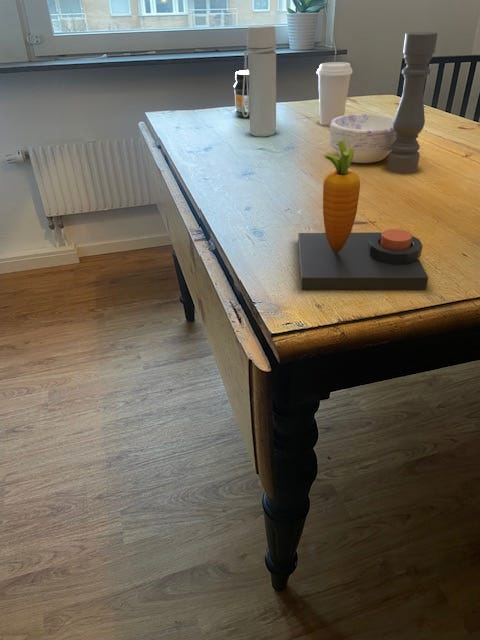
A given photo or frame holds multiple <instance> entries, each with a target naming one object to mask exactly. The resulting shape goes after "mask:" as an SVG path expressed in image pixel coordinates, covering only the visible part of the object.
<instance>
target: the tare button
mask: <svg viewBox="0 0 480 640" xmlns="http://www.w3.org/2000/svg"><path fill="white" fill-rule="evenodd" d="M412 236H413V235H412V233H411V232H409V231H407V230H405V229H401V228H389V229H385V230H383V231H382V234H381V242H380V245H381V246H383V247H384V248H388V249H393V250H405V249H408V248H410V246H411V240H412Z"/></svg>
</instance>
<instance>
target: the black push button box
mask: <svg viewBox="0 0 480 640" xmlns="http://www.w3.org/2000/svg"><path fill="white" fill-rule="evenodd" d="M382 232H383V231H382ZM382 232H380V231H379V232H375V231H374V232H351V234H350V236H349V238H348V240H347V242H346V243H345V245H344V246H343V248H342V249H341V251H339V252H338V253H334V252H333V251H332V249H331V247H330V245H329V243H328V240H327V236H326V233H325V232H298V233H297V246H298V247H297V248H298V250H297V251H298V262H299V275H300V276H299V277H300V288H301V291H426V290H427V287H428V281H429V276H428V274H427V272H426V269H425V268H424V266H423V265H422V262H421V260H420V257H421V256H422V251H423V245H424V244H423V243H422V241H421V239H419V238H418V237H415V236H414V235H412V240H411V246H410V248H408V249H405V250H393V249H388V248H384V247H383V246H381V245H380V242H381V234H382Z"/></svg>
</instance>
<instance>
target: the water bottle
mask: <svg viewBox="0 0 480 640" xmlns="http://www.w3.org/2000/svg"><path fill="white" fill-rule="evenodd" d="M275 28H276V27H275V25H269V24H268V25H265V24H264V25H250V26H248V27H247V41H246V48H247V49H246V50H243V56H244V68H243V71H244V81H243V95H242V112H243V116H244V117H247V116H248V114H249V110H250V118H249V134H250V135H251V136H254V137H259V138H265V137H266V138H267V137H271V136H273V135H275V134H276V133H277V51H275V50H277V48H278V47H277V46H278V45H277V40H276V29H275ZM245 70H246V80H247V101H248V112H247V115H244V111H243V99H244V83H245ZM247 70H248V72H249V94H248V77H247Z"/></svg>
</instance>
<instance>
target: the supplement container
mask: <svg viewBox="0 0 480 640" xmlns="http://www.w3.org/2000/svg"><path fill="white" fill-rule="evenodd" d="M234 75H235V76H234V78H235V79H234V80H235V81H236V82H235V83H234V85H233V89H234V106H235V107H234V109H235V110H234V113H235V115H236V116H238V117H239V118H244V119H250V110H249V114H248V116H247V117H244V116H243V112H242V95H243V81H244V70H239V71H236V72H235V74H234ZM247 77H248V94H249V72H248V69H247ZM243 111H244V115H247V112H248V101H247V80H246V69H245V83H244V99H243Z"/></svg>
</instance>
